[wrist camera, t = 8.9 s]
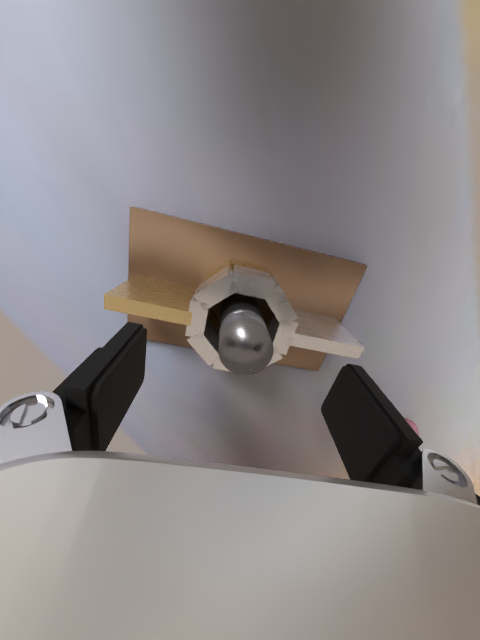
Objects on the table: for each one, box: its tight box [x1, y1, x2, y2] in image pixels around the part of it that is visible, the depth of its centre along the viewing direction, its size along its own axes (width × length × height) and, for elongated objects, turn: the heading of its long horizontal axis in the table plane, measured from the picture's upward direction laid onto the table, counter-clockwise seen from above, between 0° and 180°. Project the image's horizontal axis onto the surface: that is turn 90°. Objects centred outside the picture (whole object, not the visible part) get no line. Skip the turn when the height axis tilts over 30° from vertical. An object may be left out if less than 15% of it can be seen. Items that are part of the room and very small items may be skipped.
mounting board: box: [127, 207, 367, 371], centre depth 20 cm, size 11×19×1 cm, turn 77°
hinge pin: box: [219, 293, 274, 375], centre depth 16 cm, size 3×3×8 cm
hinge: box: [104, 259, 365, 372], centre depth 17 cm, size 7×18×5 cm, turn 77°
